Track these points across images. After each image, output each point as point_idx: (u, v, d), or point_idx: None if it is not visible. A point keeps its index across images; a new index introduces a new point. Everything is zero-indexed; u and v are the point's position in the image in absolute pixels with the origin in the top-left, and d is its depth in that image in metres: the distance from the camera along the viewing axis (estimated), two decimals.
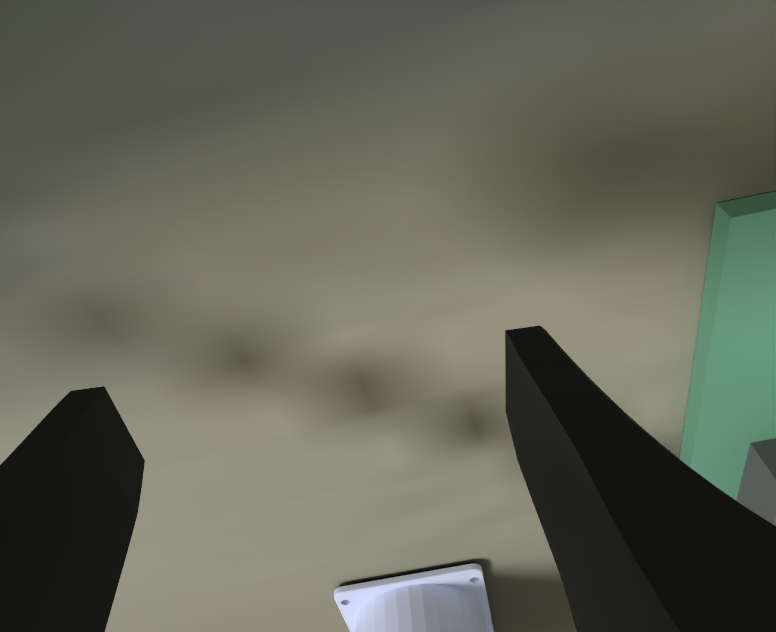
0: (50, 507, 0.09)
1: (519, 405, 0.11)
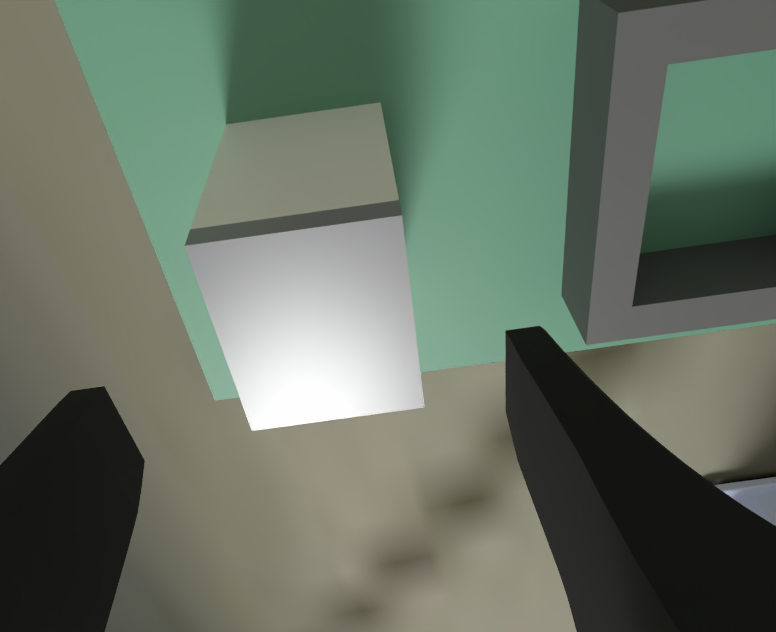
0: (50, 507, 0.09)
1: (519, 405, 0.11)
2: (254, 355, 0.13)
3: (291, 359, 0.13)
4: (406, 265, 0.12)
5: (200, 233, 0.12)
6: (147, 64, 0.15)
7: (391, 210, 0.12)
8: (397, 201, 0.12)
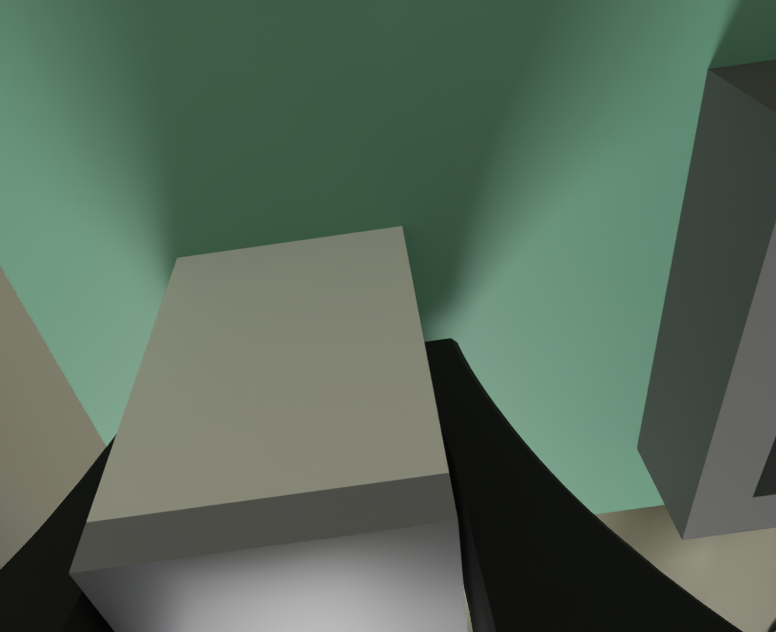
0: None
1: None
2: None
3: None
4: (460, 577, 0.07)
5: (101, 537, 0.07)
6: (54, 181, 0.10)
7: (437, 503, 0.07)
8: (446, 476, 0.07)
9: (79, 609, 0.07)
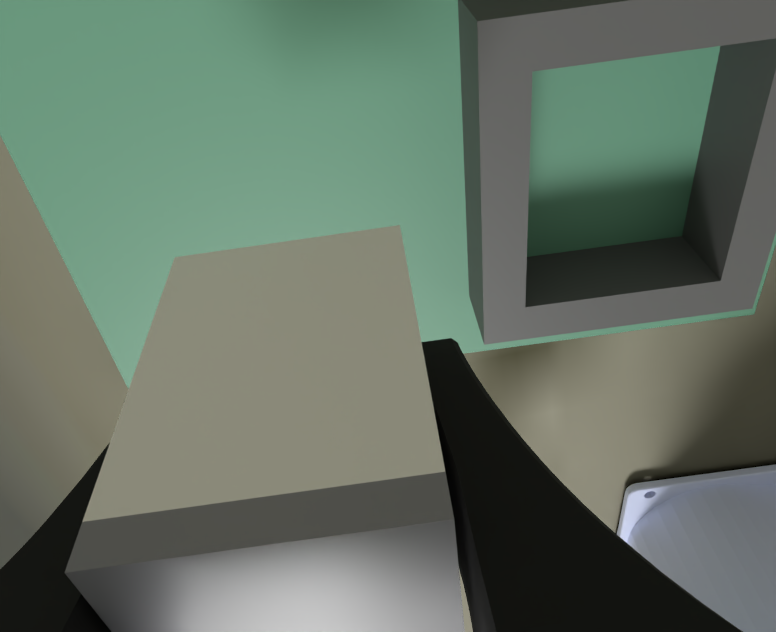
0: None
1: None
2: None
3: None
4: (456, 576, 0.07)
5: (97, 536, 0.07)
6: (33, 67, 0.16)
7: (435, 502, 0.07)
8: (442, 475, 0.07)
9: (79, 609, 0.07)
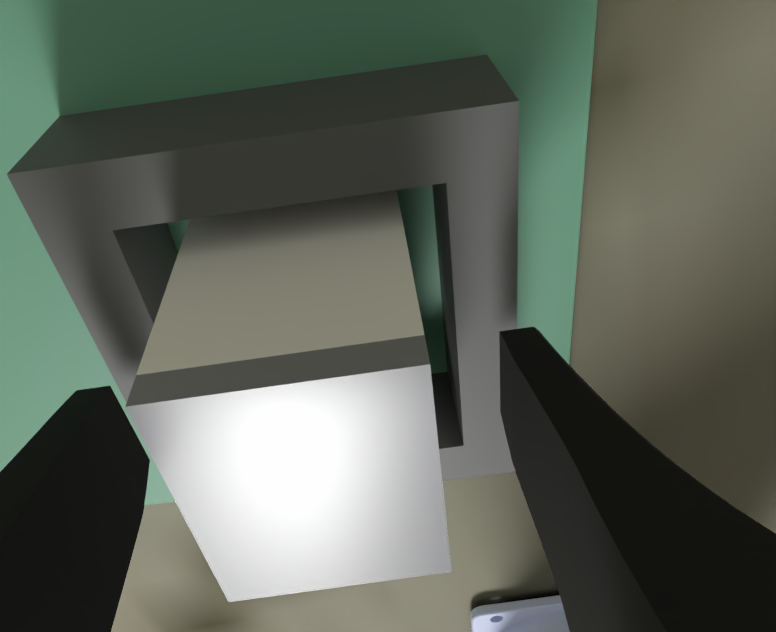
0: (57, 506, 0.09)
1: (513, 406, 0.11)
2: (228, 524, 0.10)
3: (278, 527, 0.10)
4: (434, 421, 0.09)
5: (149, 383, 0.09)
6: None
7: (416, 353, 0.08)
8: (422, 337, 0.09)
9: None
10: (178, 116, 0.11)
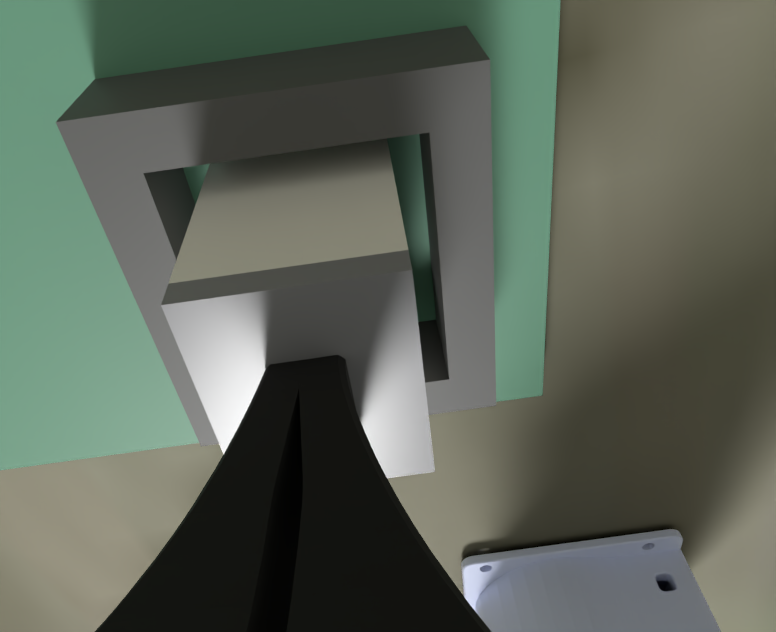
0: (291, 474, 0.09)
1: None
2: None
3: None
4: (416, 323, 0.11)
5: (179, 289, 0.10)
6: None
7: (400, 263, 0.10)
8: (406, 251, 0.10)
9: (259, 584, 0.07)
10: (199, 76, 0.13)
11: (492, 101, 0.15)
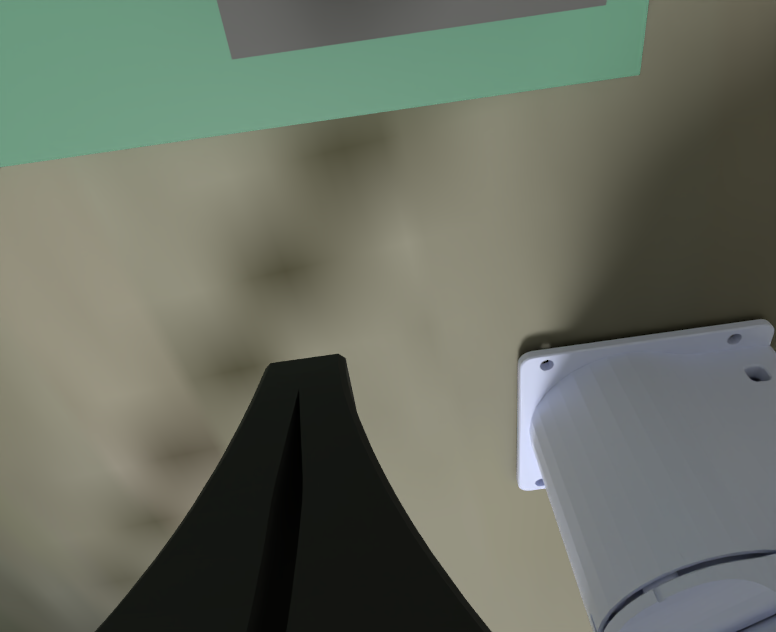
0: (291, 474, 0.09)
1: None
2: None
3: None
4: None
5: None
6: None
7: None
8: None
9: (259, 585, 0.07)
10: None
11: None
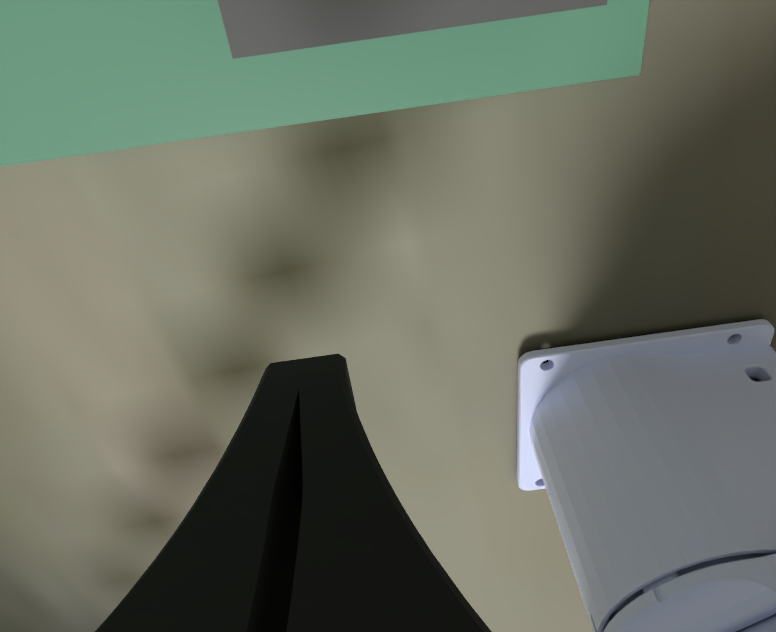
0: (291, 474, 0.09)
1: None
2: None
3: None
4: None
5: None
6: None
7: None
8: None
9: (259, 585, 0.07)
10: None
11: None
